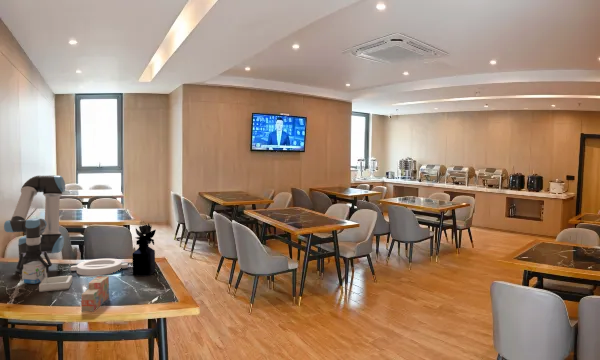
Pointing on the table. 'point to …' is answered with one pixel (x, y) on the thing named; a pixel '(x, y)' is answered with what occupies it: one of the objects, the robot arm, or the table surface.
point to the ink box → (34, 272)
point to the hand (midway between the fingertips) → (34, 278)
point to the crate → (55, 283)
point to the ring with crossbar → (99, 266)
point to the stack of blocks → (95, 293)
